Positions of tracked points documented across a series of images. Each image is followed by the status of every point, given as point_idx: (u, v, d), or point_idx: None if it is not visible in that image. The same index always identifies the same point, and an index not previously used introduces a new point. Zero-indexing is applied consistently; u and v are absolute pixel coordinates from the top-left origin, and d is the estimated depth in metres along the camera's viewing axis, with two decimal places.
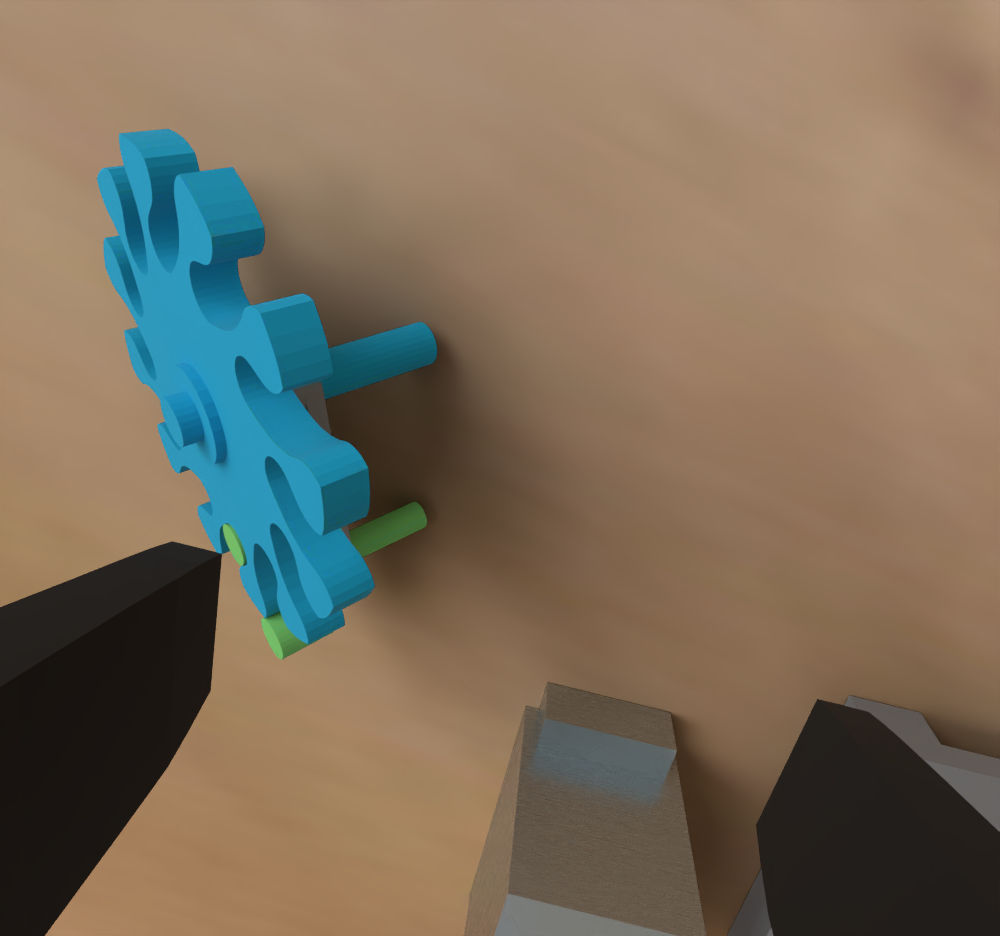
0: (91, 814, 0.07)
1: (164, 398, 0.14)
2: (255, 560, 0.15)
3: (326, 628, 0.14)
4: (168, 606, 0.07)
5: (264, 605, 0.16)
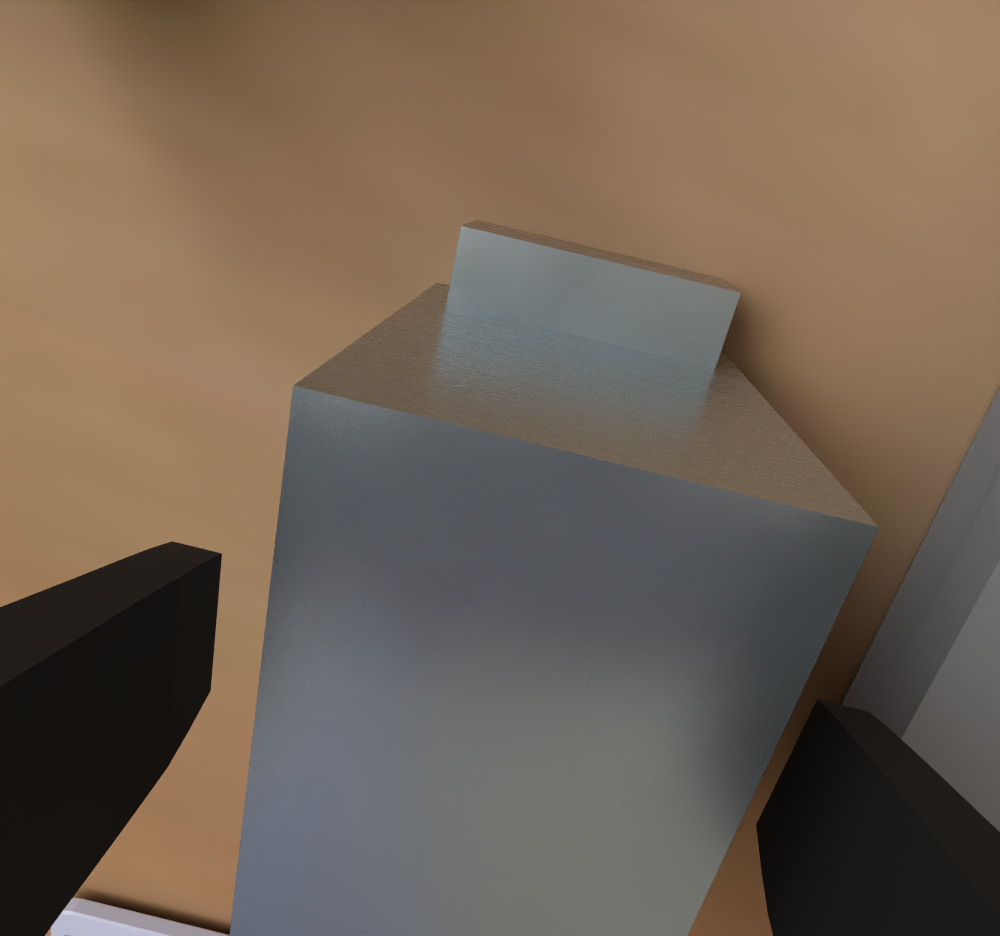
0: (91, 814, 0.07)
1: None
2: None
3: None
4: (168, 606, 0.07)
5: None
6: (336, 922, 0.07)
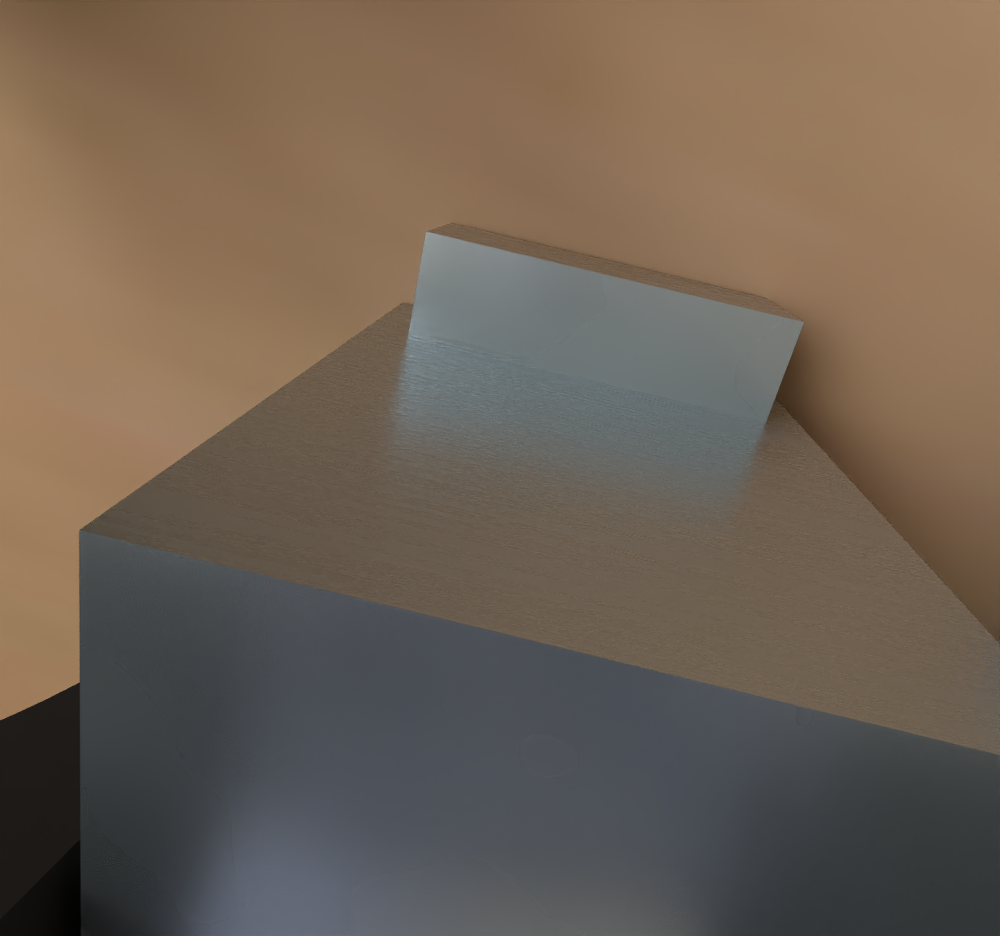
0: None
1: None
2: None
3: None
4: None
5: None
6: None
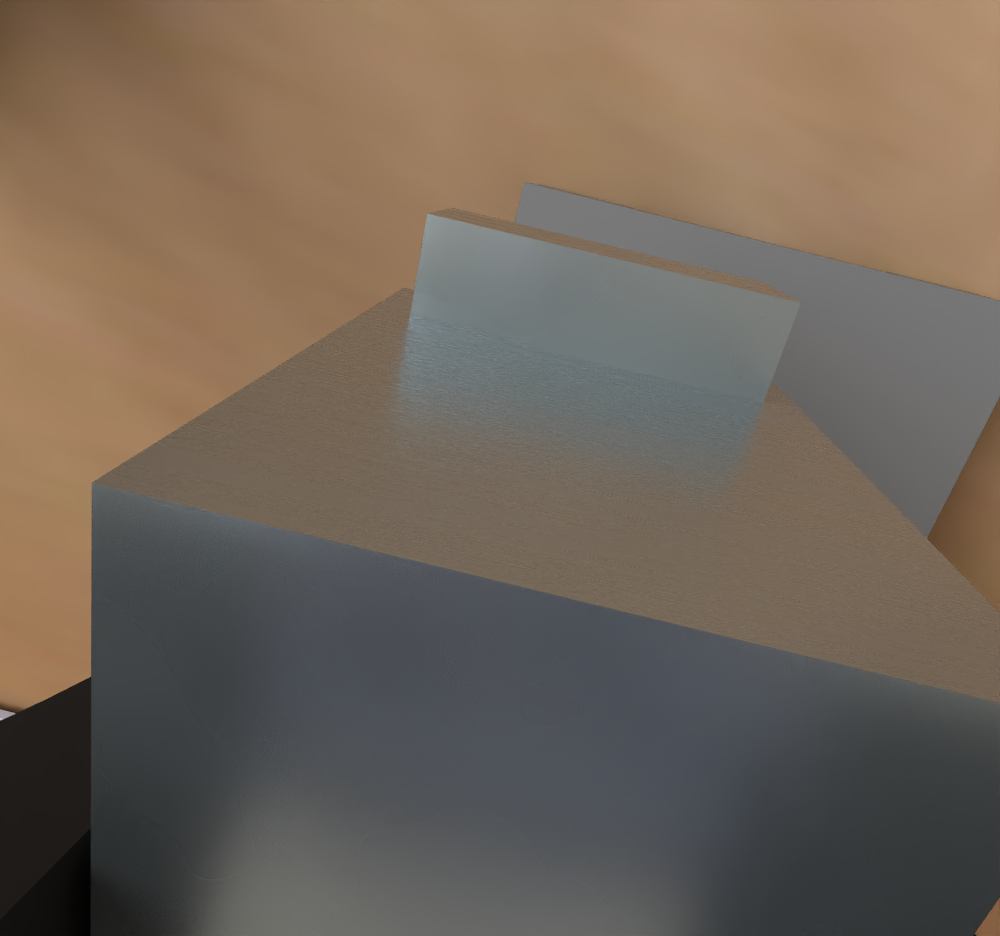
0: None
1: None
2: None
3: None
4: None
5: None
6: None
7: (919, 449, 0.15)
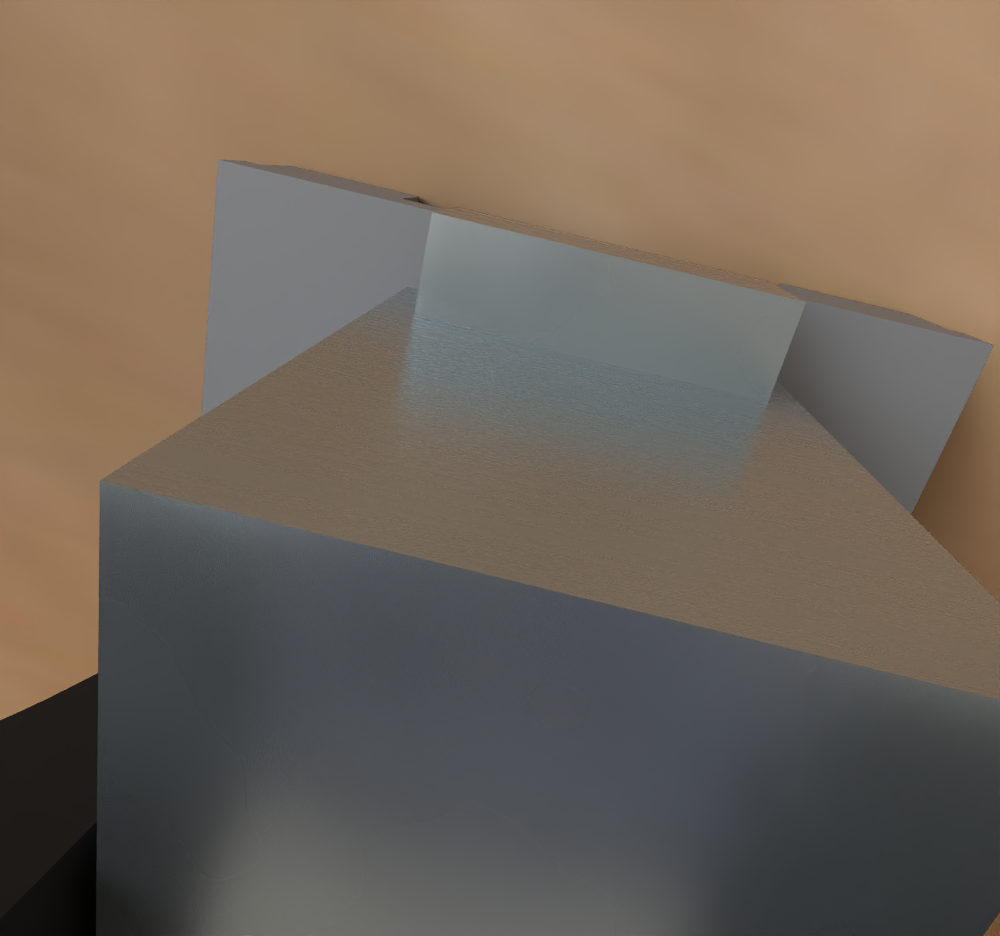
0: None
1: None
2: None
3: None
4: None
5: None
6: None
7: None
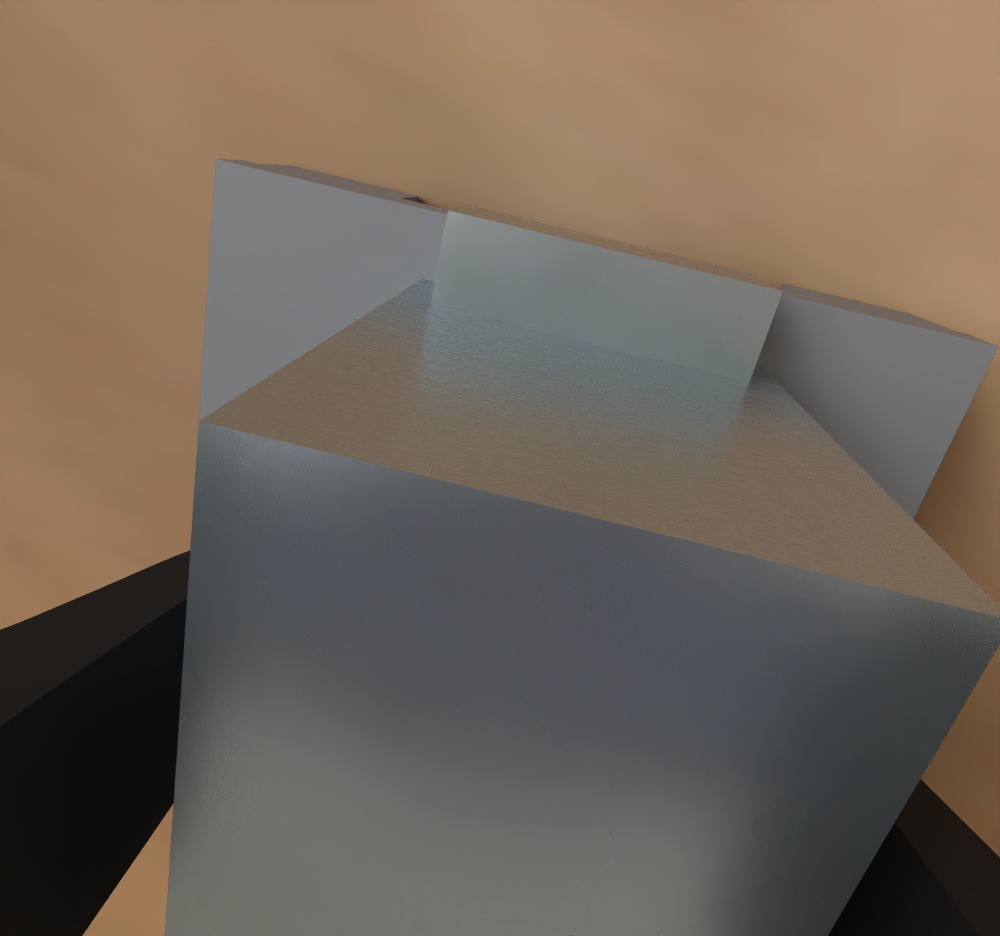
0: (122, 823, 0.07)
1: None
2: None
3: None
4: None
5: None
6: None
7: None
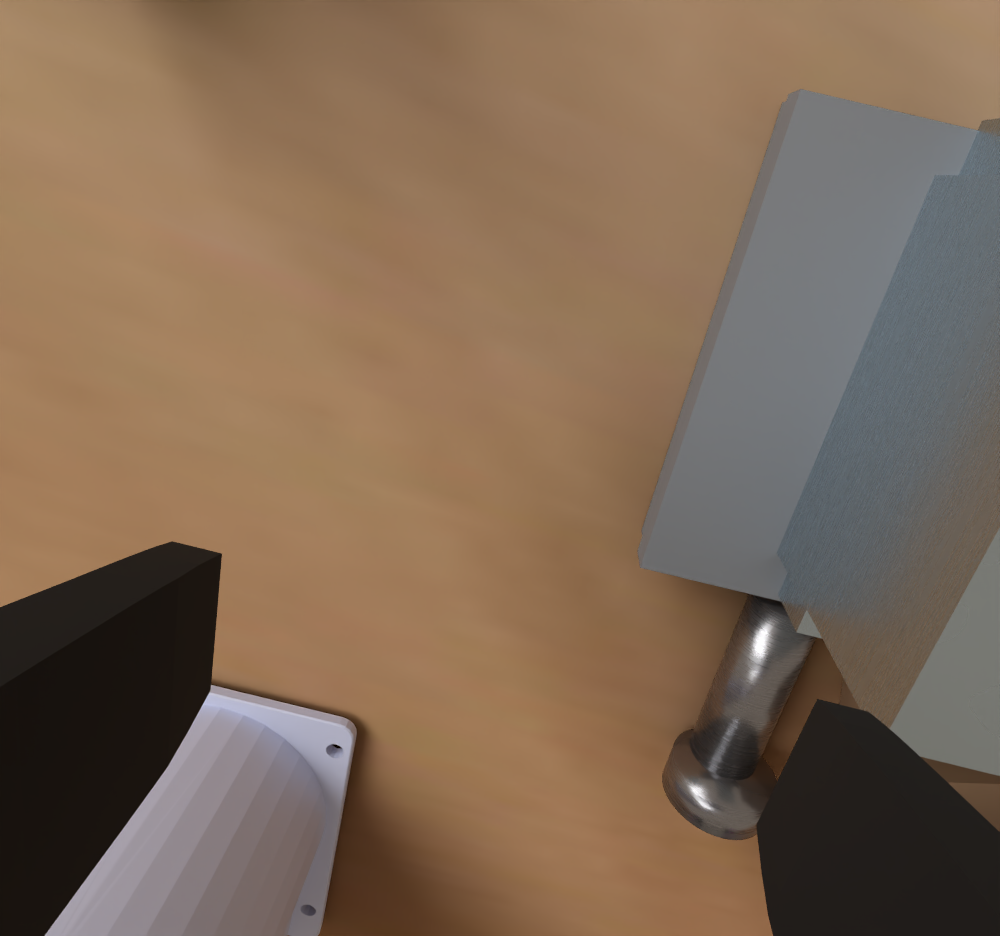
0: (91, 814, 0.07)
1: None
2: None
3: None
4: (168, 606, 0.07)
5: None
6: None
7: None
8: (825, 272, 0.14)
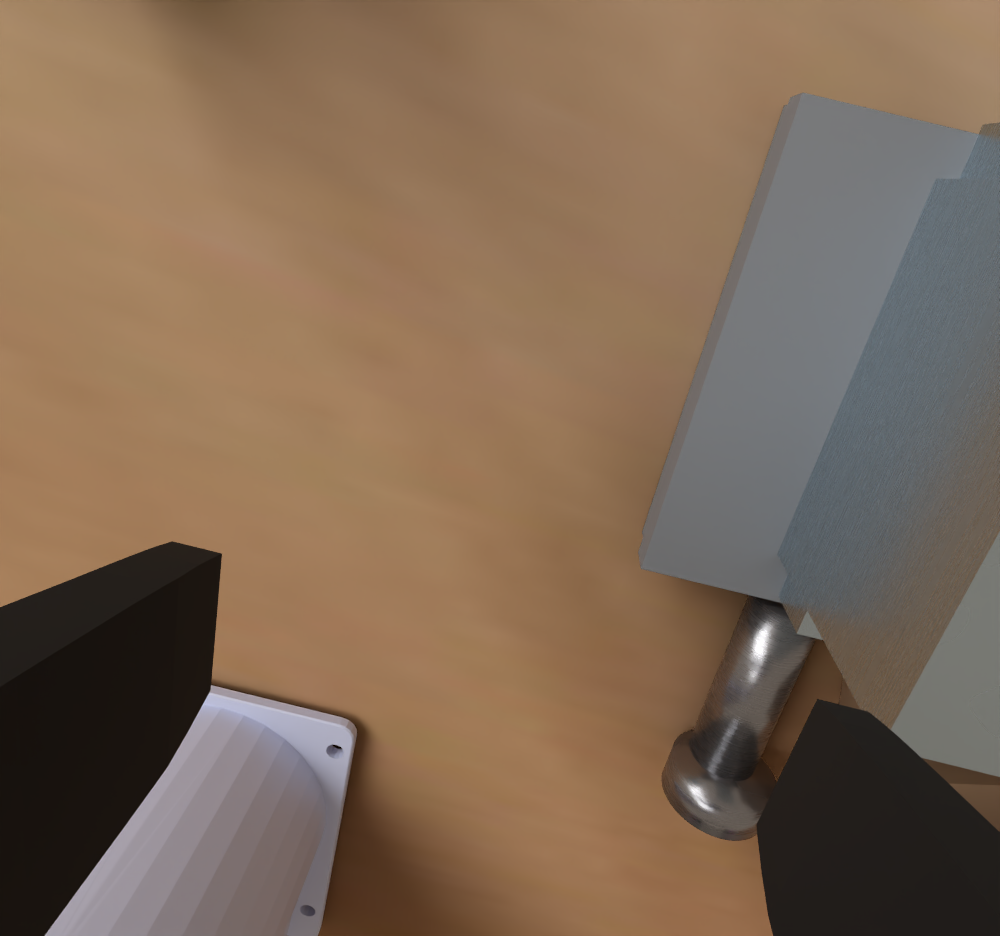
0: (90, 815, 0.07)
1: None
2: None
3: None
4: (168, 606, 0.07)
5: None
6: None
7: None
8: (826, 275, 0.14)
